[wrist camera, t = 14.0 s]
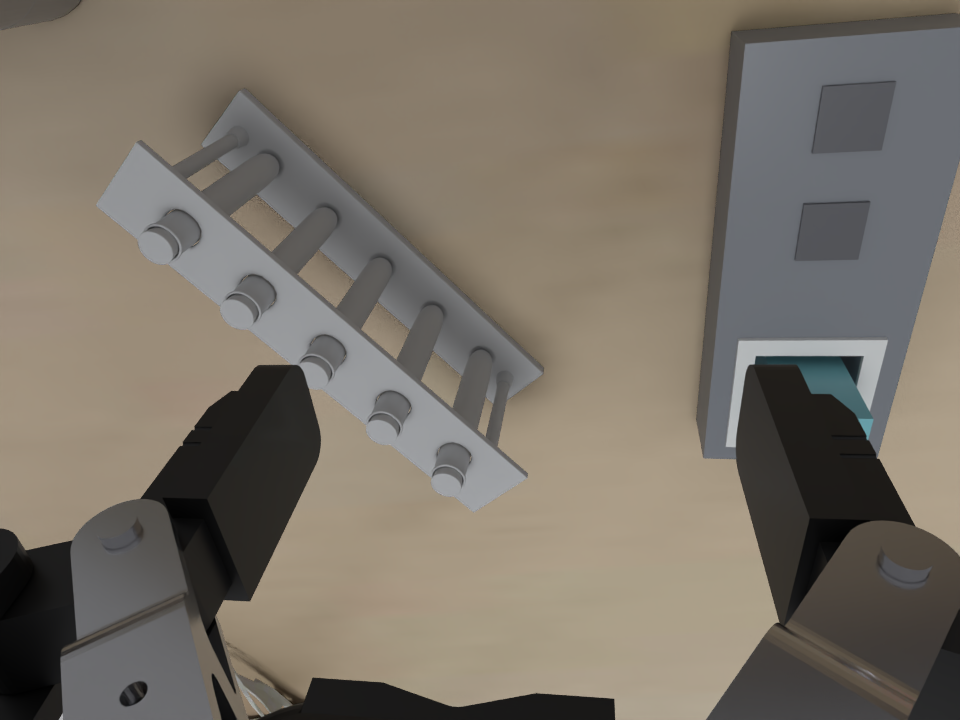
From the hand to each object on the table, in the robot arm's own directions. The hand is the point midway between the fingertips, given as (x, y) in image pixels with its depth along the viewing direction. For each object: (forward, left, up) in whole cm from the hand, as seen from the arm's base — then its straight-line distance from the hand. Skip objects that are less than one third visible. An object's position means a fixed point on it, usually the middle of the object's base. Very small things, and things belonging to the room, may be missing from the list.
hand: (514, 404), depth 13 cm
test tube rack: (-12, -10, -29) cm, 33 cm away
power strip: (+13, -10, -29) cm, 33 cm away
